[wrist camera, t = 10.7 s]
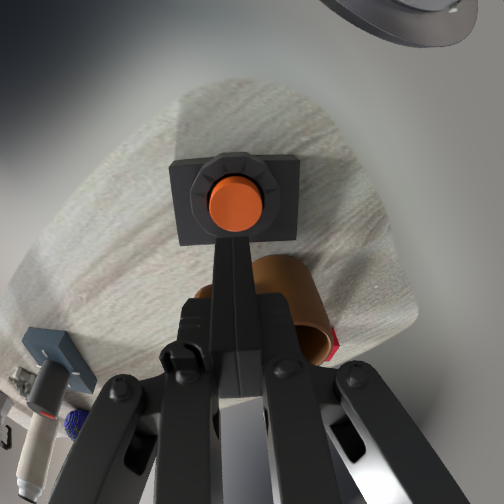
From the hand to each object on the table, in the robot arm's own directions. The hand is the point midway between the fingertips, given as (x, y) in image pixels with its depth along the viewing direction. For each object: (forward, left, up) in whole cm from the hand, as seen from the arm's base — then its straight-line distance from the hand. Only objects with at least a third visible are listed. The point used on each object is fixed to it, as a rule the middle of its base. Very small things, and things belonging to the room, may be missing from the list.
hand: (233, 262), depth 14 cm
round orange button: (0, 0, -8) cm, 8 cm away
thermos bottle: (+54, -54, -12) cm, 77 cm away
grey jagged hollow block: (+36, -46, -12) cm, 59 cm away
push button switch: (+1, 0, -12) cm, 12 cm away
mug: (+9, +2, -12) cm, 15 cm away
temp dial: (+24, -29, -9) cm, 38 cm away
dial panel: (+24, -29, -12) cm, 39 cm away
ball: (+46, -36, -12) cm, 59 cm away
